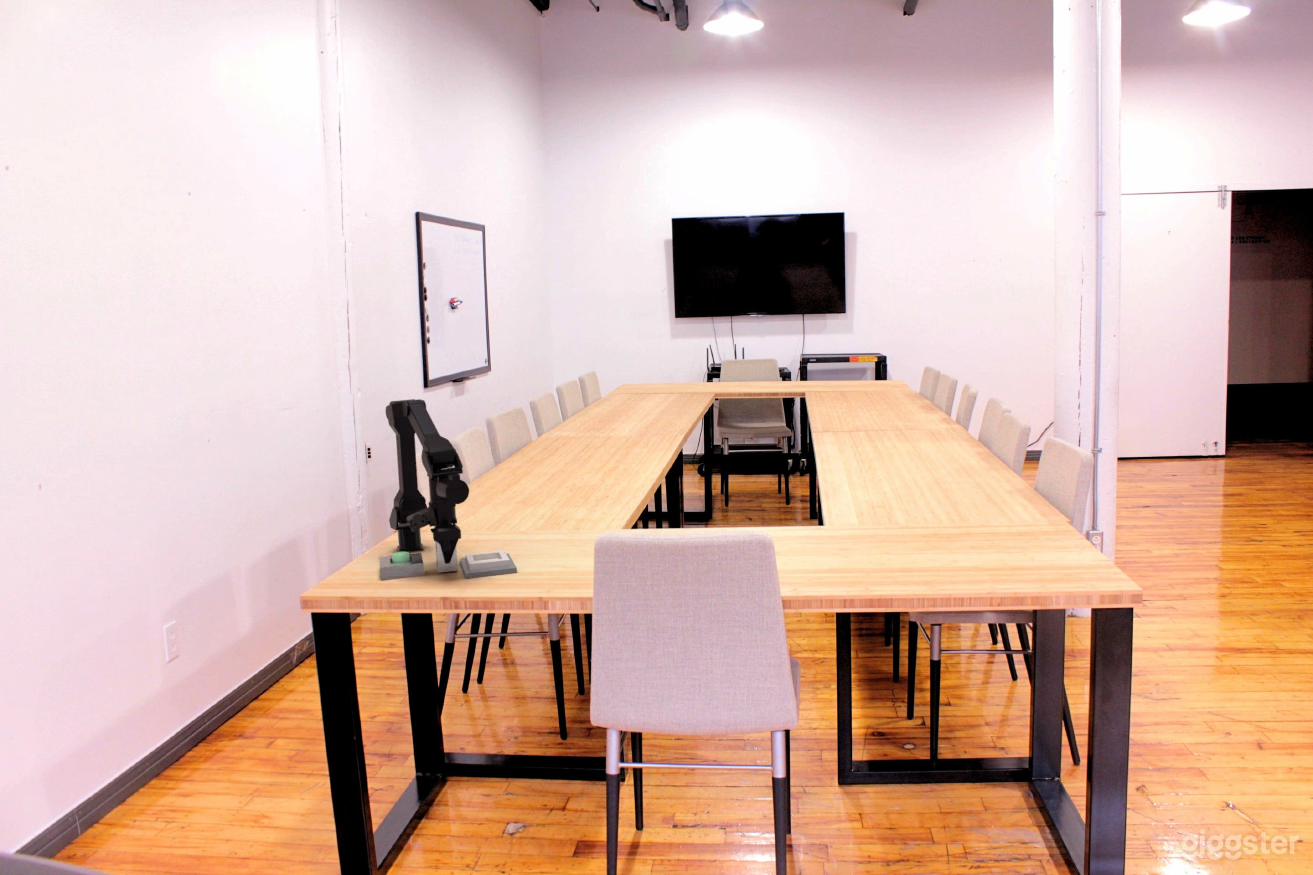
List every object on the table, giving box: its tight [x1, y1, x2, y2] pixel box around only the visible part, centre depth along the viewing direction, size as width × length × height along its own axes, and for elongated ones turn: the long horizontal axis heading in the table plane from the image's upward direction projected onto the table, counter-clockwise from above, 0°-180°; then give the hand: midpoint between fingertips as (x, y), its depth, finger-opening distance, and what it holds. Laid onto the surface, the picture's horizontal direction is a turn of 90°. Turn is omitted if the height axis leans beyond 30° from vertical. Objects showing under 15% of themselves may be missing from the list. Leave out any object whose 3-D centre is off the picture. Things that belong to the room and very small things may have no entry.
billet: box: [434, 541, 459, 573], centre depth 237 cm, size 4×4×8 cm
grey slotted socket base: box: [459, 549, 518, 579], centre depth 239 cm, size 14×12×3 cm
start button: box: [391, 551, 410, 563], centre depth 238 cm, size 4×4×4 cm
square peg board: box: [378, 552, 425, 581], centre depth 238 cm, size 10×10×3 cm
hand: (446, 560), depth 237 cm, fingers closed on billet, 4 cm apart
